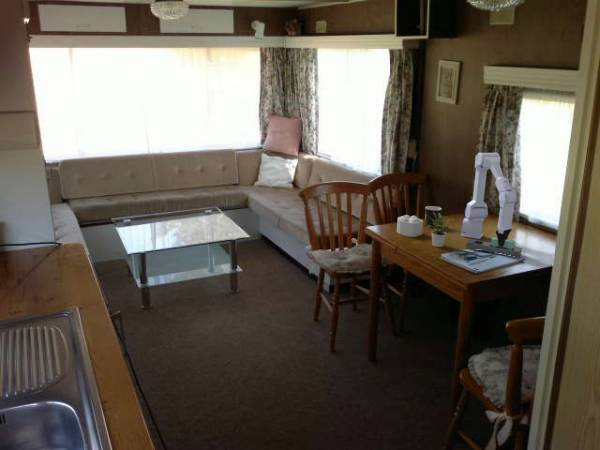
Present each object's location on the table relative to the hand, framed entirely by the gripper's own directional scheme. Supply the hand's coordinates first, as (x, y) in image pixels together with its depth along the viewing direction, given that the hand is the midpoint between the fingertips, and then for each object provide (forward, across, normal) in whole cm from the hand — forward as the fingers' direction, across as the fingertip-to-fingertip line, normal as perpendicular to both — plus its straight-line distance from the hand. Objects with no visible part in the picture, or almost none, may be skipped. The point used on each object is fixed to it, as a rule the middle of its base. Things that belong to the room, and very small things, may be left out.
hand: (502, 244), depth 256 cm
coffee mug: (+4, +23, +41) cm, 47 cm away
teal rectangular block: (+3, 0, 0) cm, 3 cm away
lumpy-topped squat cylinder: (+4, +5, +48) cm, 48 cm away
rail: (+4, 0, +4) cm, 5 cm away
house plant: (+4, -6, +30) cm, 30 cm away
